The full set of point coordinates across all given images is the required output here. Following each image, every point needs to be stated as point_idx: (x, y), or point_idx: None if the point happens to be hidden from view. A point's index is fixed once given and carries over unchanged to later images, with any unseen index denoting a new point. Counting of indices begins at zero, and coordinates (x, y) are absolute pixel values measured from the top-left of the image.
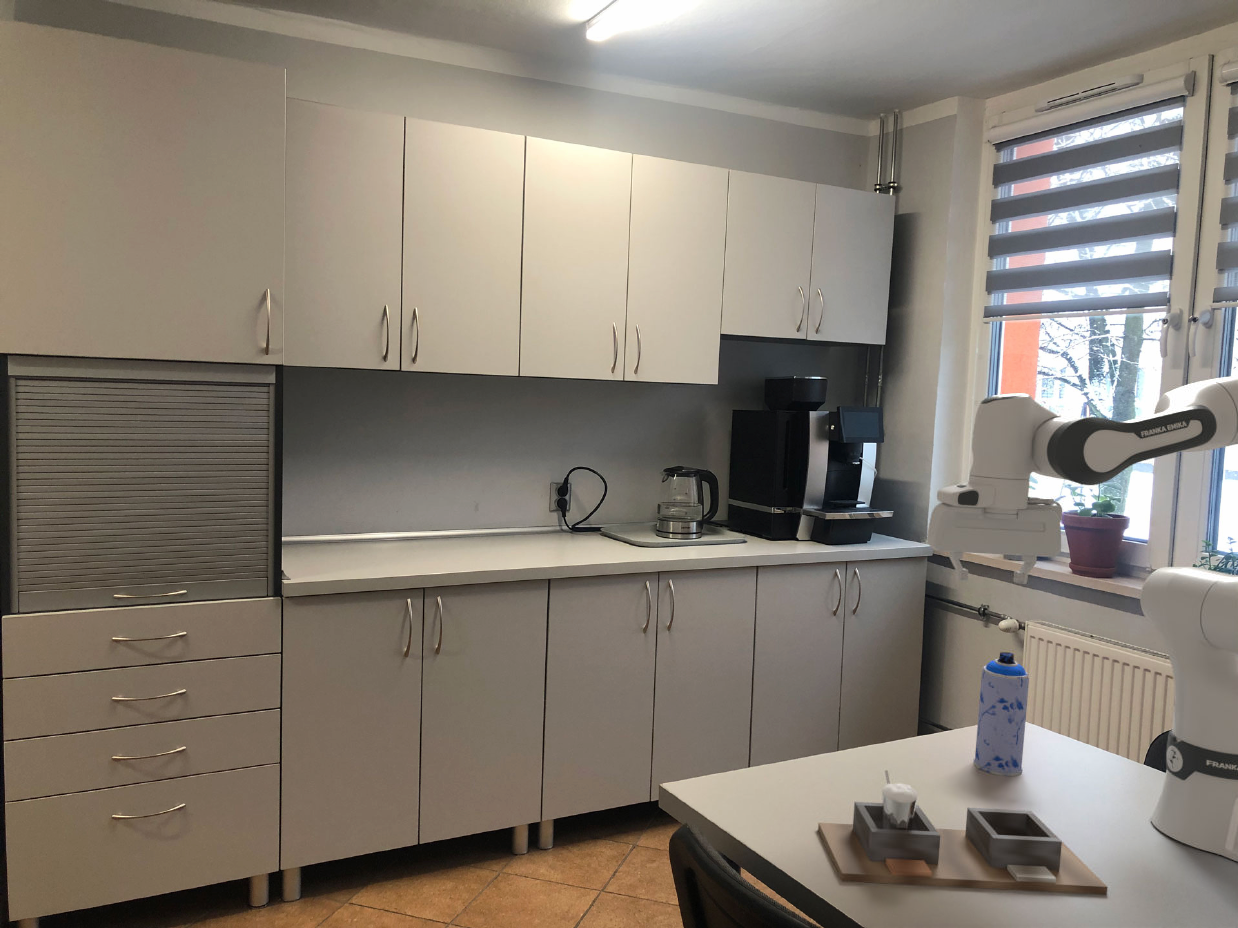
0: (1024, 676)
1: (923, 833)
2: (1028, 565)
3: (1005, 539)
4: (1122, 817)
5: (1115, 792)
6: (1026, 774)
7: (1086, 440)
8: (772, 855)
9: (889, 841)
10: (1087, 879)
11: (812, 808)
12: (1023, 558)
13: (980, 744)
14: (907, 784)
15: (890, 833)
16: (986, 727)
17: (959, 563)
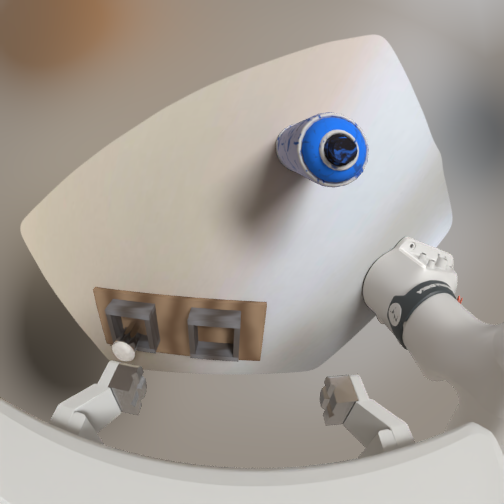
0: (350, 182)
1: (144, 350)
2: (364, 441)
3: None
4: (353, 259)
5: (383, 210)
6: None
7: None
8: (75, 315)
9: None
10: (252, 354)
11: (92, 255)
12: (374, 445)
13: (280, 151)
14: (126, 352)
15: None
16: (285, 159)
17: (101, 426)
